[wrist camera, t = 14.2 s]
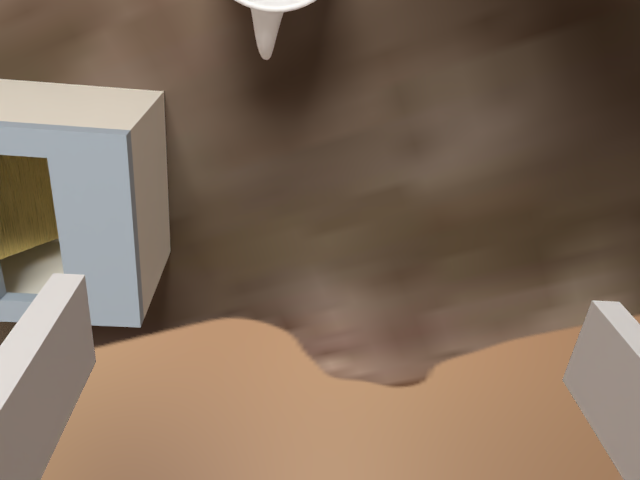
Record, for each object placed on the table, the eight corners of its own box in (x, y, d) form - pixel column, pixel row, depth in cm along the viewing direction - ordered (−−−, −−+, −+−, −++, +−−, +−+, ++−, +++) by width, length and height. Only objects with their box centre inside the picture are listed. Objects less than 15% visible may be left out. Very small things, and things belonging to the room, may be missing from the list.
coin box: (-28, 76, 42) (-126, 117, 32) (163, 91, 43) (126, 135, 33) (4, 242, 48) (-68, 318, 39) (170, 251, 49) (140, 327, 40)
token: (52, 125, 43) (-61, 147, 37) (72, 132, 42) (-42, 157, 36) (65, 219, 47) (-36, 253, 41) (83, 229, 45) (-18, 265, 39)
